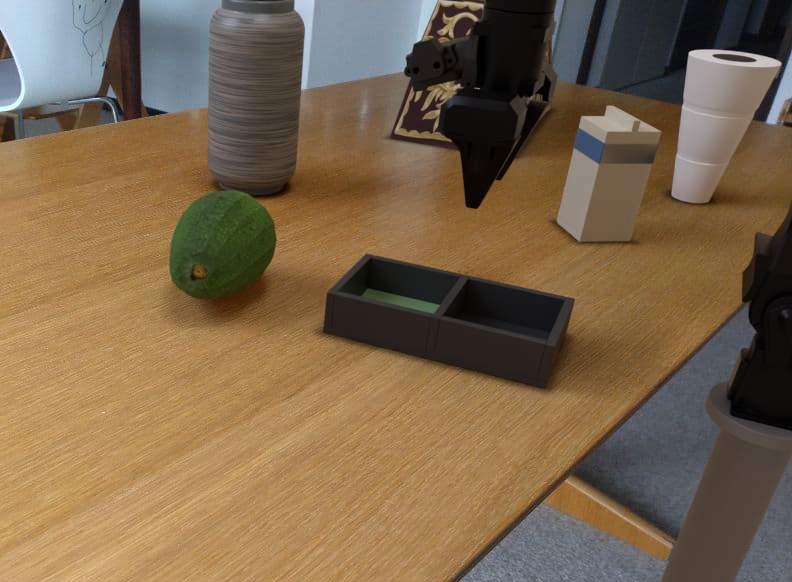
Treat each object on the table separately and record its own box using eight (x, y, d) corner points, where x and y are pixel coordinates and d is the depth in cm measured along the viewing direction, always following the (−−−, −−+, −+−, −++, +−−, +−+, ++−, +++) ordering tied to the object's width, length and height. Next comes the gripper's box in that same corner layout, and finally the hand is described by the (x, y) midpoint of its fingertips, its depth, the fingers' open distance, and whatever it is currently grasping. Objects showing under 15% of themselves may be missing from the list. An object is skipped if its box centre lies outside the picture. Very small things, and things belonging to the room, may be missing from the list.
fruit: (234, 336, 80) (237, 233, 75) (138, 314, 83) (134, 213, 78) (290, 275, 92) (296, 182, 87) (204, 258, 95) (205, 167, 90)
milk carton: (630, 241, 105) (665, 120, 97) (578, 242, 104) (609, 120, 96) (605, 221, 110) (636, 105, 102) (555, 222, 109) (583, 105, 101)
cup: (679, 212, 114) (724, 67, 104) (633, 185, 123) (671, 49, 113) (750, 209, 116) (801, 67, 106) (699, 183, 125) (742, 49, 115)
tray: (565, 337, 83) (575, 298, 80) (544, 388, 75) (555, 346, 72) (361, 290, 90) (366, 253, 88) (322, 332, 82) (326, 292, 80)
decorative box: (446, 94, 165) (464, -24, 155) (551, 109, 159) (577, -14, 148) (389, 138, 138) (406, -2, 128) (513, 158, 132) (542, 12, 121)
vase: (227, 203, 110) (232, 5, 98) (194, 175, 119) (195, -10, 107) (309, 194, 114) (324, 2, 102) (272, 168, 123) (281, -12, 111)
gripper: (452, -13, 82) (428, 153, 90) (389, 11, 68) (367, 206, 76) (575, -1, 78) (537, 172, 86) (534, 28, 64) (494, 231, 72)
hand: (484, 193), depth 80 cm, fingers open, 9 cm apart
